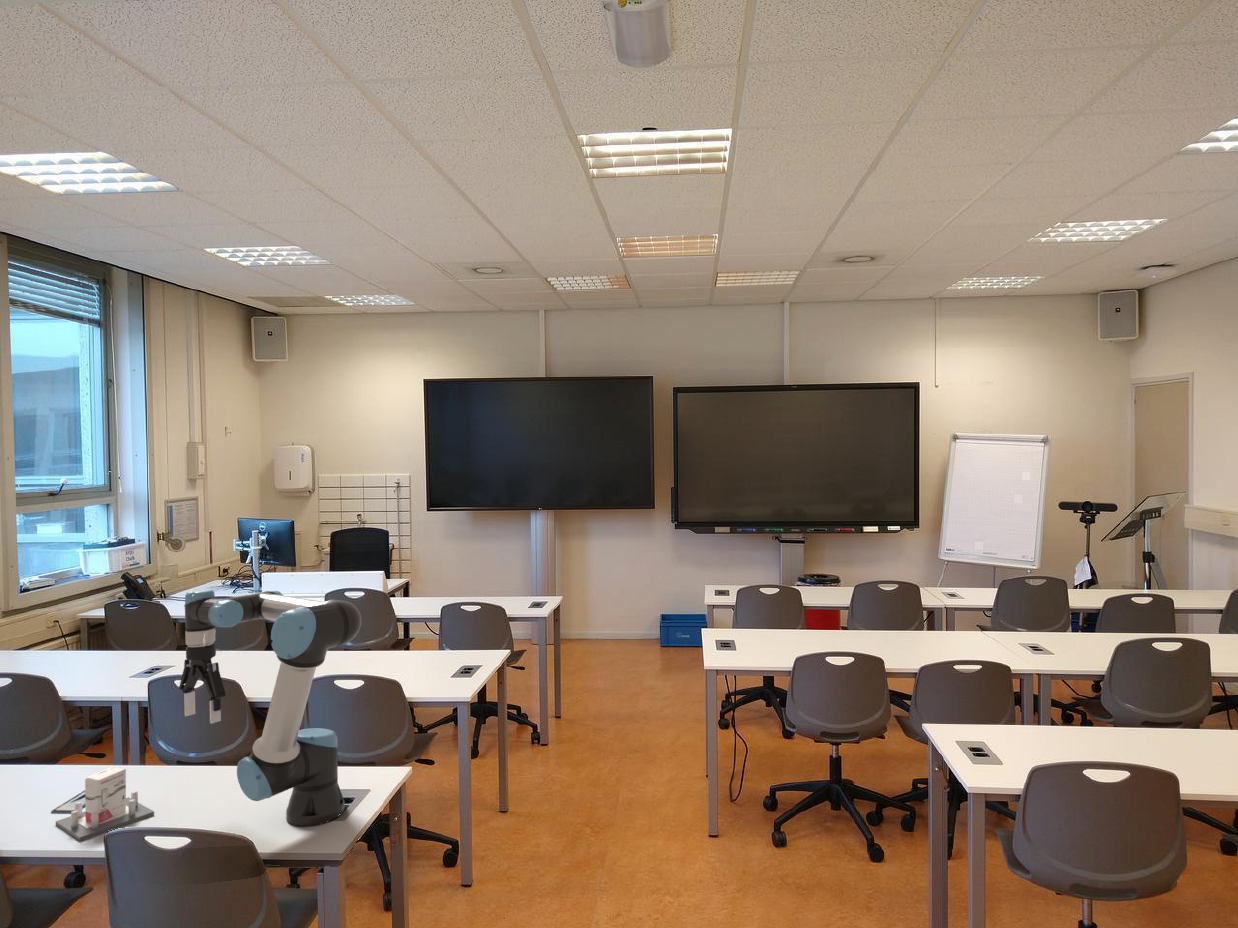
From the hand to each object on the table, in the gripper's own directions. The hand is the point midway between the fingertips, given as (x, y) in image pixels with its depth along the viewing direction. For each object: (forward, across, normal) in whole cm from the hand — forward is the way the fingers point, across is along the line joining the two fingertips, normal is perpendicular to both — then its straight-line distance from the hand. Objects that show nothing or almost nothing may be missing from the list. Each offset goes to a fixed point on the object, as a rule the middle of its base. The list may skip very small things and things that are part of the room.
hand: (202, 718), depth 218 cm
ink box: (+24, +15, +19) cm, 34 cm away
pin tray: (+25, +15, +19) cm, 35 cm away
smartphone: (+25, +34, +18) cm, 45 cm away
